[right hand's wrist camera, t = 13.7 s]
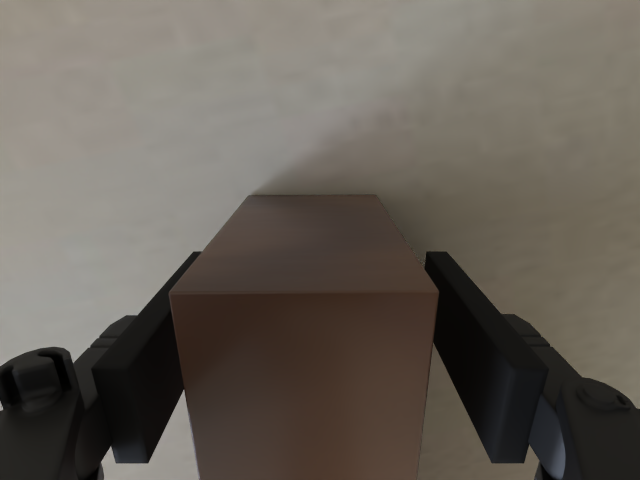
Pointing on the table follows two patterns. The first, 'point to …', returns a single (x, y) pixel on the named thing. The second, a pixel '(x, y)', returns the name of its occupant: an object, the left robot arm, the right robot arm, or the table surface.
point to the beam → (306, 343)
